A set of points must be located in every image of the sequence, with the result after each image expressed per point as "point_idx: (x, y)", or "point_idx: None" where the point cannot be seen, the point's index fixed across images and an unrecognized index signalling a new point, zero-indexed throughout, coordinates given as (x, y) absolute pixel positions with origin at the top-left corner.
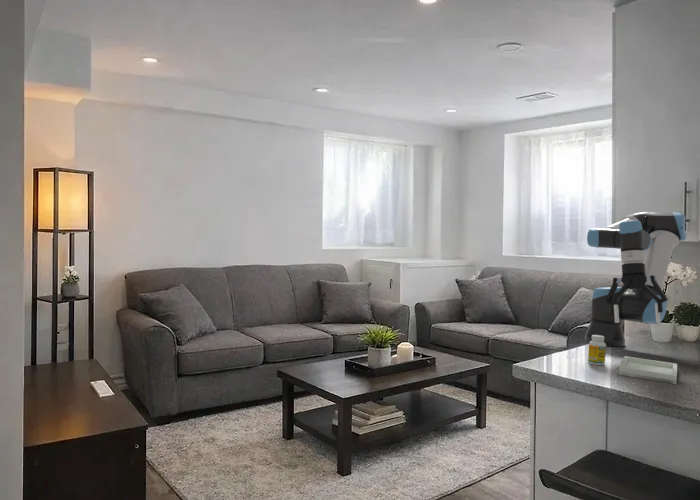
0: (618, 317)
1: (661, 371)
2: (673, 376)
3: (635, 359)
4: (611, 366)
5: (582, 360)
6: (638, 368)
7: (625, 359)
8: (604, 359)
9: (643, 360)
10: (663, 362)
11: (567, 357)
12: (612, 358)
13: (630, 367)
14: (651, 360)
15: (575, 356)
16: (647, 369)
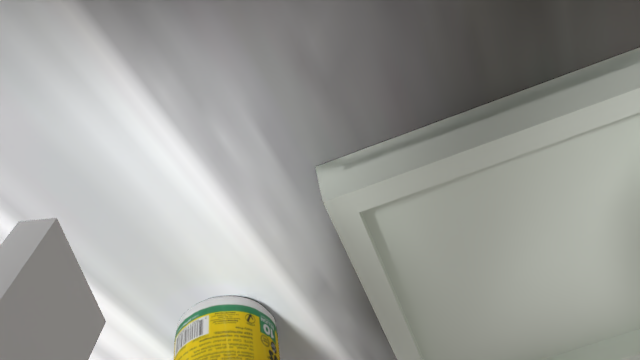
0: (22, 317)
1: (596, 235)
2: None
3: (410, 187)
4: (316, 305)
5: (132, 334)
6: (473, 287)
7: (381, 286)
8: (278, 347)
9: (465, 168)
10: (610, 122)
11: None
12: (170, 98)
13: (432, 306)
14: (523, 146)
15: None
16: (520, 264)
